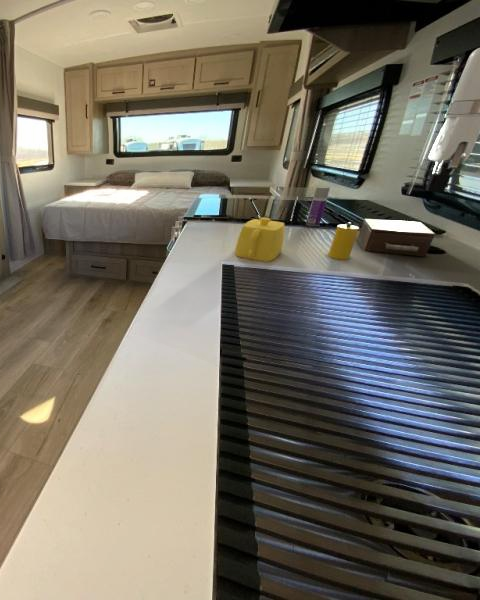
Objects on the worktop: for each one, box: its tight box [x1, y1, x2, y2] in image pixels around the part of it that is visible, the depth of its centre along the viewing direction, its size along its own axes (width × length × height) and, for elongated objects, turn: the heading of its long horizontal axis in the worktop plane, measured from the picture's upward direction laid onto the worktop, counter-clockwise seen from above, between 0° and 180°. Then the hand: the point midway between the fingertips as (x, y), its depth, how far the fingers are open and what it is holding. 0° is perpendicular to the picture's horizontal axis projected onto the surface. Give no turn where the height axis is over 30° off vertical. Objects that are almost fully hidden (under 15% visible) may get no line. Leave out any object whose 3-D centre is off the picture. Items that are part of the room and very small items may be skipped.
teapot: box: [235, 217, 285, 263], centre depth 107 cm, size 20×12×12 cm, turn 138°
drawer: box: [367, 232, 433, 257], centre depth 105 cm, size 18×13×6 cm
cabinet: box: [356, 218, 436, 257], centre depth 107 cm, size 15×15×8 cm
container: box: [305, 185, 331, 227], centre depth 134 cm, size 5×5×15 cm
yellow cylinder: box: [327, 221, 360, 260], centre depth 100 cm, size 5×5×11 cm
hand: (434, 190), depth 86 cm, fingers closed
